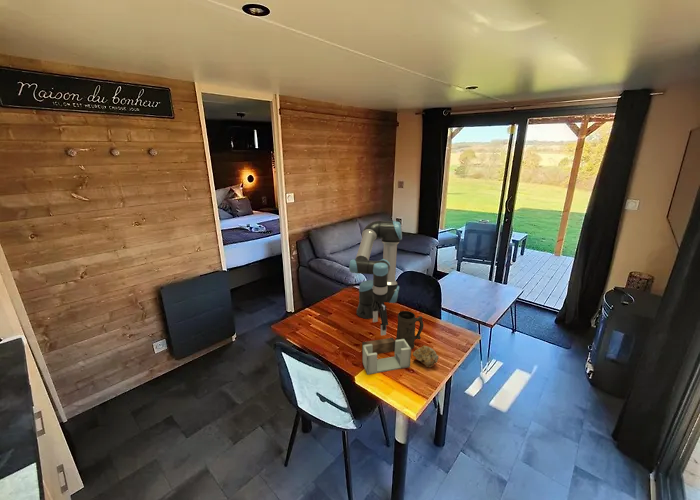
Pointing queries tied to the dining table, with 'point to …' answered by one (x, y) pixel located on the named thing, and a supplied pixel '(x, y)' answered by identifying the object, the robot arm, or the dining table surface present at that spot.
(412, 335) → the beer stein
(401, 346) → the post bracket
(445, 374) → the dining table surface
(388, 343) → the rail
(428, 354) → the rock
